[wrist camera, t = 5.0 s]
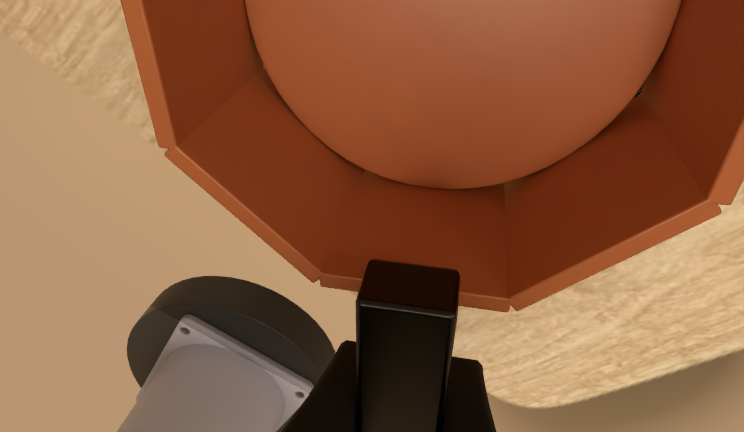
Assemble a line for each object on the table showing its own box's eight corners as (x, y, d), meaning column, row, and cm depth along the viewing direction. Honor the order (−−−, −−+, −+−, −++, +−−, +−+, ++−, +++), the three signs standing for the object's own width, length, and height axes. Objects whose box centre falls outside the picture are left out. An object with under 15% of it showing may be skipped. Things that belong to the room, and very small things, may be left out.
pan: (548, 417, 14) (566, 603, 11) (291, 374, 16) (230, 529, 12) (804, -333, 6) (1283, -631, 2) (201, -305, 7) (-100, -477, 4)
